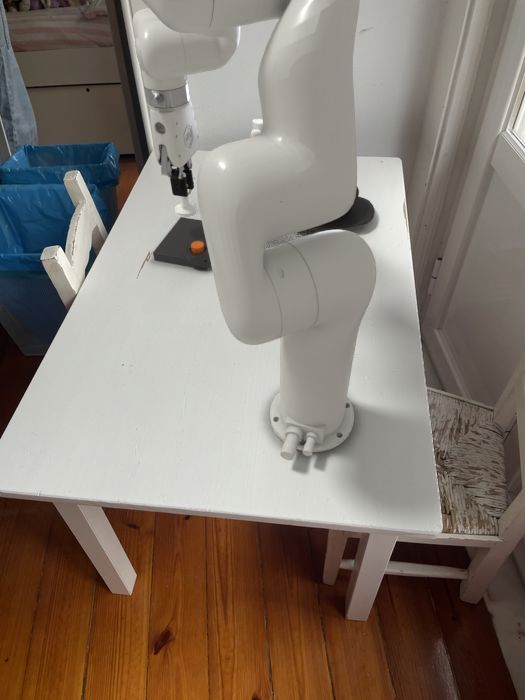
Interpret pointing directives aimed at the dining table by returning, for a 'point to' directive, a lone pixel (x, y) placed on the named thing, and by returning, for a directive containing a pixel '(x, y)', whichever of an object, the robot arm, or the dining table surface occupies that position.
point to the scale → (184, 245)
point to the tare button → (197, 247)
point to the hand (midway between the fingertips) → (183, 191)
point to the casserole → (351, 216)
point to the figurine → (256, 127)
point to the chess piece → (185, 206)
